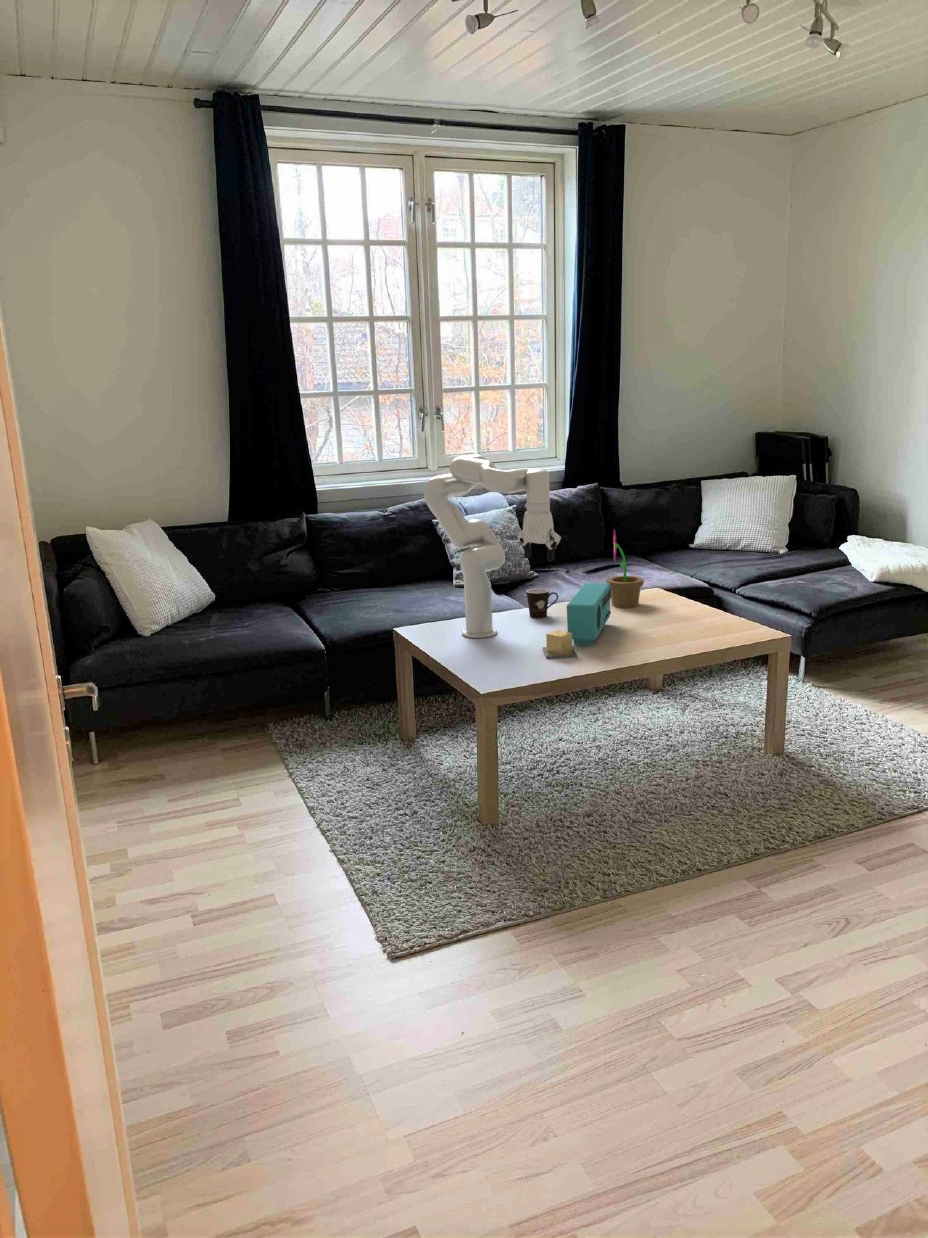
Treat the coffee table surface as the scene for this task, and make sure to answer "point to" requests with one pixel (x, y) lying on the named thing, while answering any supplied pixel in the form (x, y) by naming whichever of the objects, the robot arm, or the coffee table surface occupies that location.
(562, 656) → the stud plate
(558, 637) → the pale yellow cube
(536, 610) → the coffee mug
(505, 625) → the coffee table surface
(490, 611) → the robot arm
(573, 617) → the radio
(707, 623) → the coffee table surface
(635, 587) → the flowerpot
